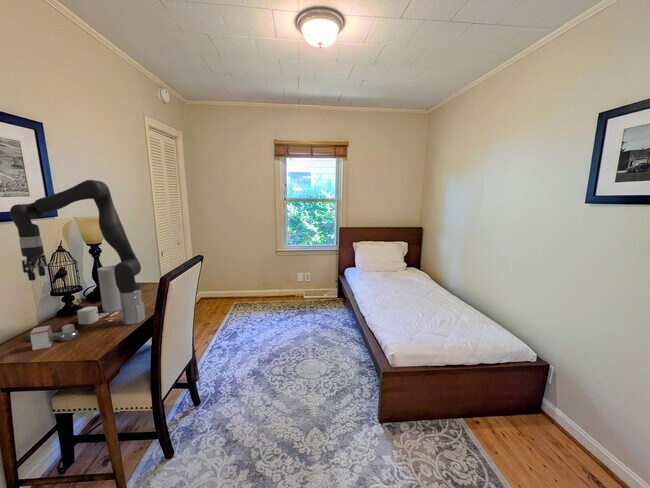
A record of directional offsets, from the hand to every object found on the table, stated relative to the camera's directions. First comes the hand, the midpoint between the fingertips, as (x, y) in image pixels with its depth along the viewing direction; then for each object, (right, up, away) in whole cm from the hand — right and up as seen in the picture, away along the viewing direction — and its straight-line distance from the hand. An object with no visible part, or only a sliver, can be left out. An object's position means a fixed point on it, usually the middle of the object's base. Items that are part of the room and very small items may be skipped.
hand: (37, 277), depth 138 cm
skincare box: (+16, -25, +11) cm, 32 cm away
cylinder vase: (+17, -22, +29) cm, 40 cm away
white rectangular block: (+16, -29, -13) cm, 36 cm away
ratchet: (+15, -28, -7) cm, 32 cm away
